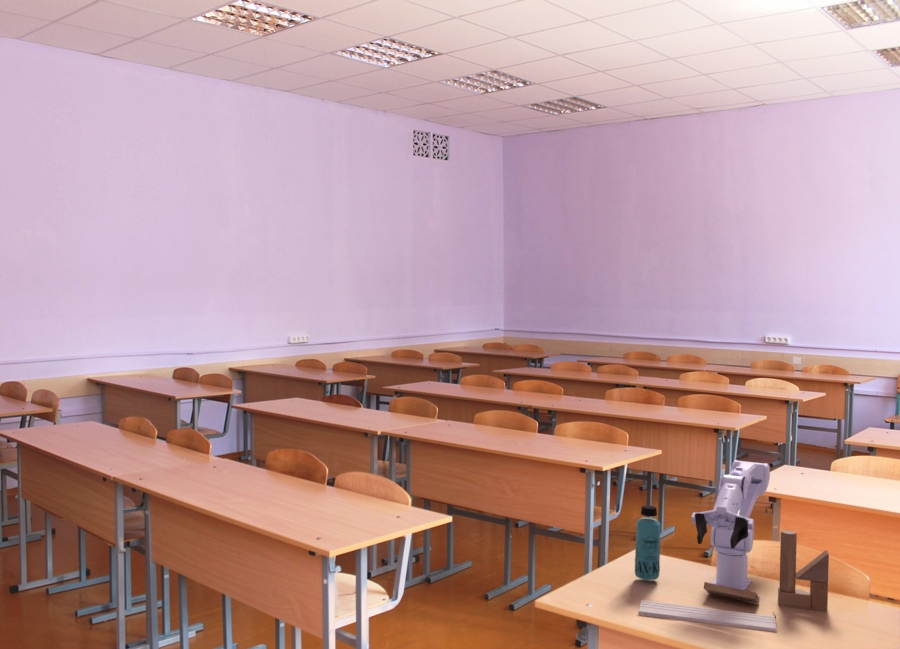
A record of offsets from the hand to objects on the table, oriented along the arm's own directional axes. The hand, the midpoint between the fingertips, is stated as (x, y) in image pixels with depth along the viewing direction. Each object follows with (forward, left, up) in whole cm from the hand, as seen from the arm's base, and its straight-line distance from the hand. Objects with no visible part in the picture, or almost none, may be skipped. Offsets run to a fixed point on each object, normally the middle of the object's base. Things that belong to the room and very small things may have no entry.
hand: (715, 542), depth 186 cm
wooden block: (-15, +17, -17) cm, 28 cm away
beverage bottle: (-10, -20, -17) cm, 28 cm away
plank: (-8, +2, -15) cm, 17 cm away
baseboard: (+4, -1, -17) cm, 18 cm away
